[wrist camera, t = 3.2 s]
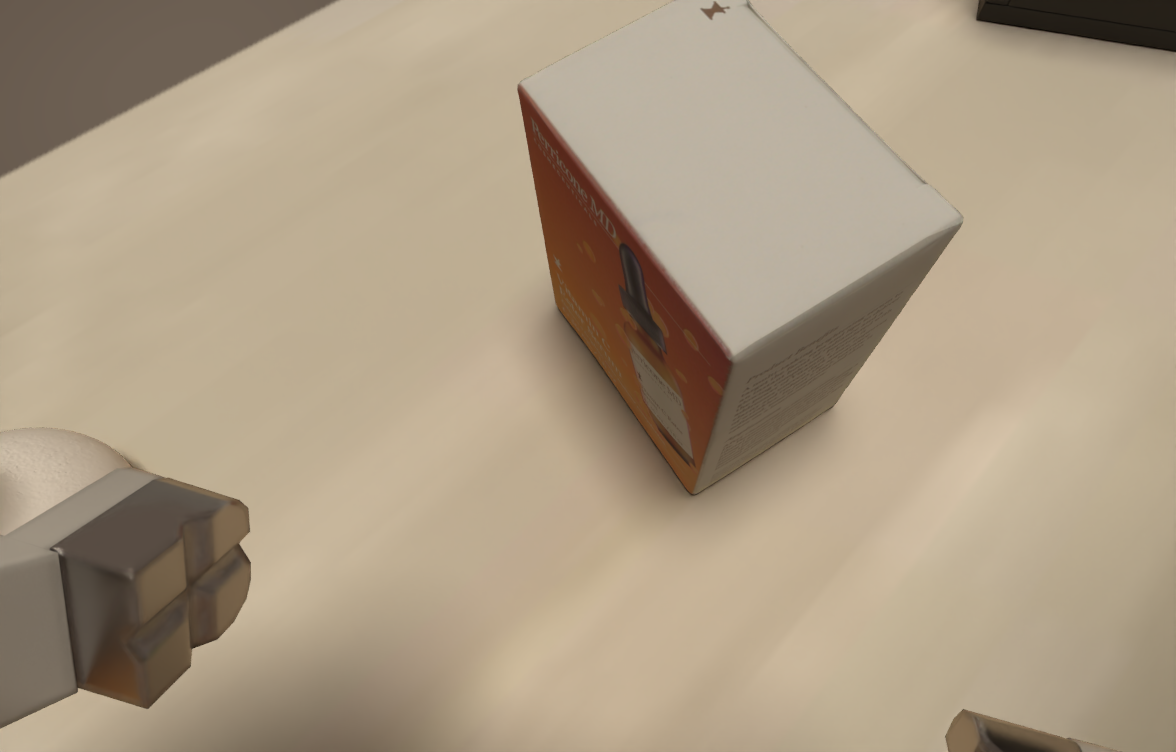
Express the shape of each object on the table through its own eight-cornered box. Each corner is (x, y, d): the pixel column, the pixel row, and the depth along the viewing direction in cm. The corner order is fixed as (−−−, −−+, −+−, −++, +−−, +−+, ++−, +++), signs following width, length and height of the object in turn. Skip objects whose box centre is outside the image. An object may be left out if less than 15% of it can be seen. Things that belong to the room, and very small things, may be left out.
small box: (553, 305, 27) (505, 74, 17) (692, 224, 27) (722, -39, 18) (691, 504, 24) (730, 365, 14) (841, 407, 25) (974, 214, 15)
